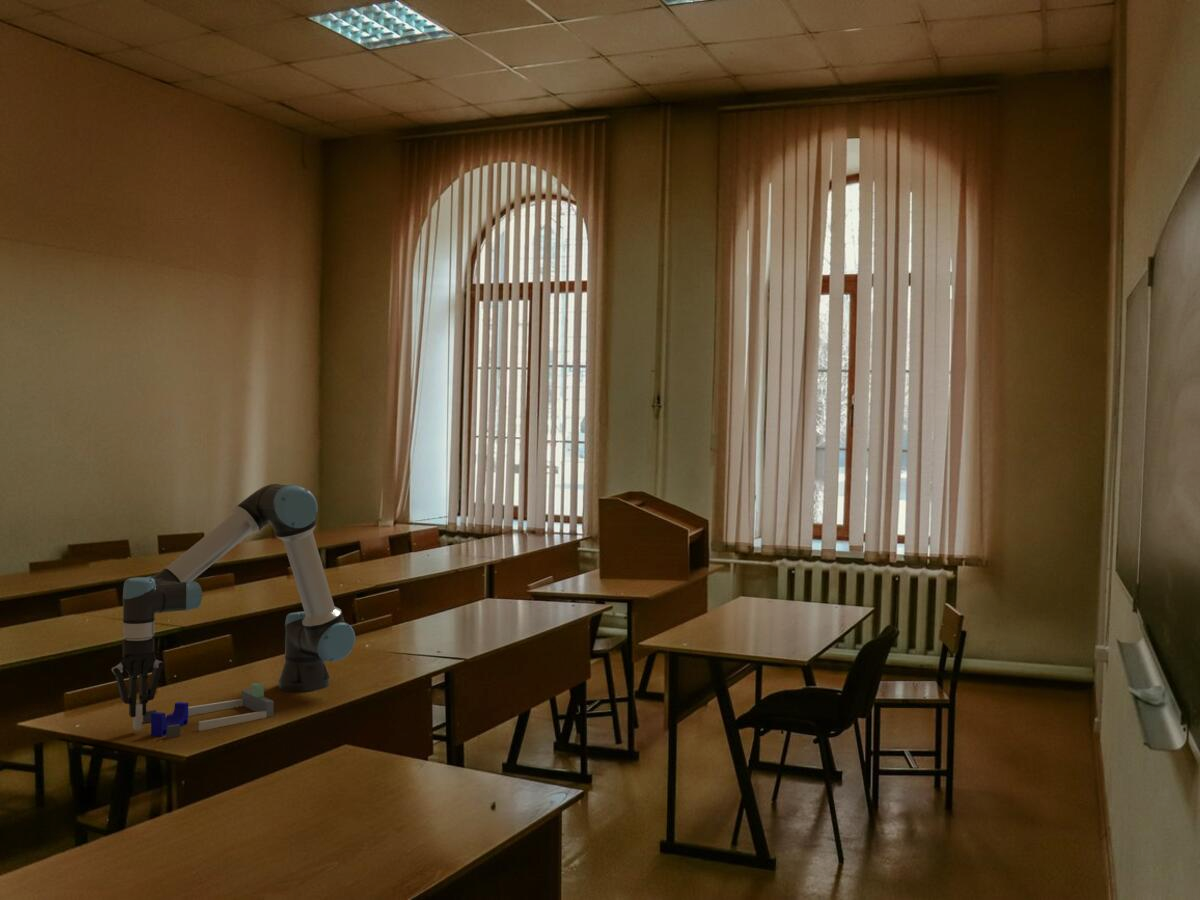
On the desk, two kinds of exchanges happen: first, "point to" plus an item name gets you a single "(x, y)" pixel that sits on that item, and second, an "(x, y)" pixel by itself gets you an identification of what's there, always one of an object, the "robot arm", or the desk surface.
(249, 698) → the port dock
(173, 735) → the holster stops
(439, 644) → the desk surface
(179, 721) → the blue u-shaped block
